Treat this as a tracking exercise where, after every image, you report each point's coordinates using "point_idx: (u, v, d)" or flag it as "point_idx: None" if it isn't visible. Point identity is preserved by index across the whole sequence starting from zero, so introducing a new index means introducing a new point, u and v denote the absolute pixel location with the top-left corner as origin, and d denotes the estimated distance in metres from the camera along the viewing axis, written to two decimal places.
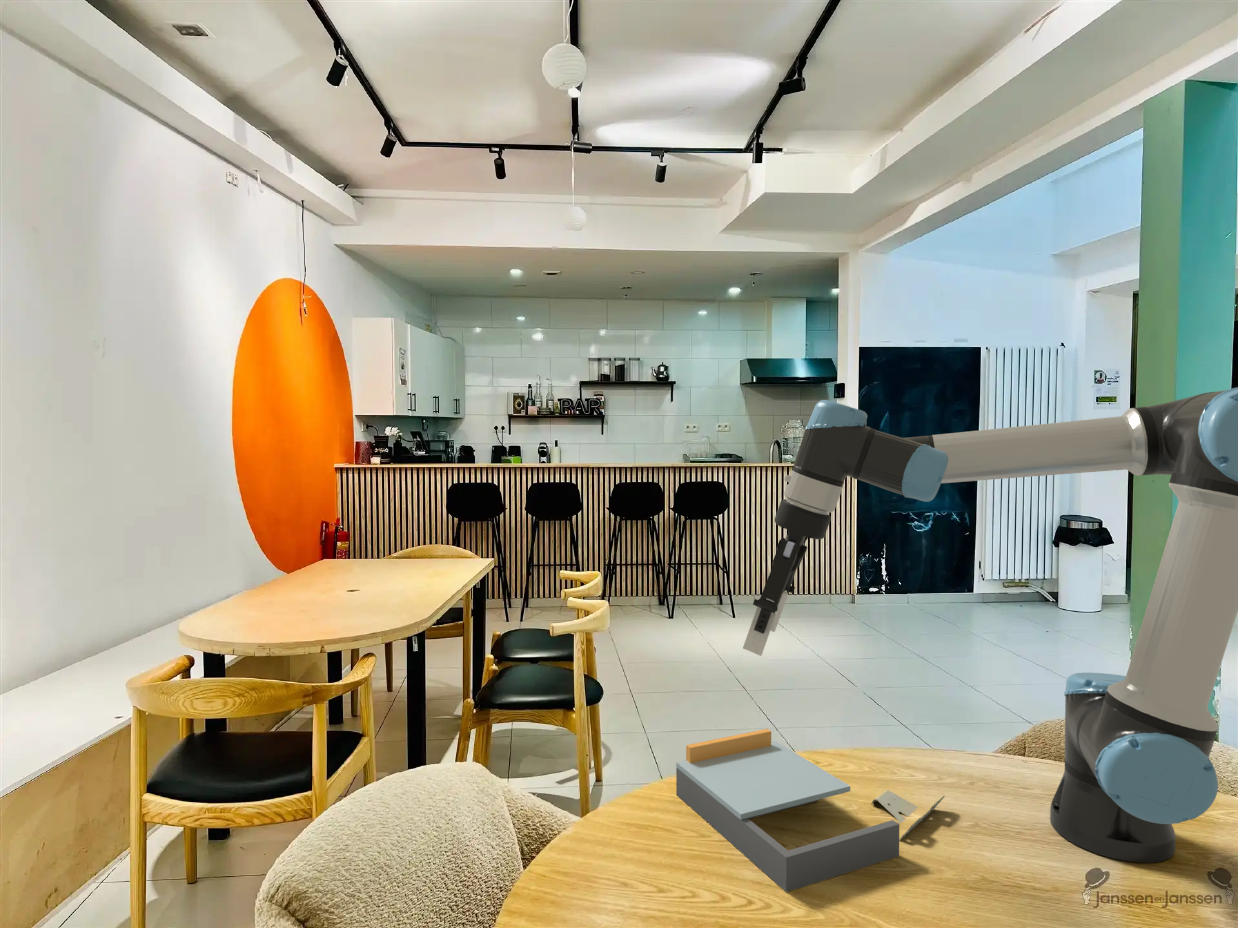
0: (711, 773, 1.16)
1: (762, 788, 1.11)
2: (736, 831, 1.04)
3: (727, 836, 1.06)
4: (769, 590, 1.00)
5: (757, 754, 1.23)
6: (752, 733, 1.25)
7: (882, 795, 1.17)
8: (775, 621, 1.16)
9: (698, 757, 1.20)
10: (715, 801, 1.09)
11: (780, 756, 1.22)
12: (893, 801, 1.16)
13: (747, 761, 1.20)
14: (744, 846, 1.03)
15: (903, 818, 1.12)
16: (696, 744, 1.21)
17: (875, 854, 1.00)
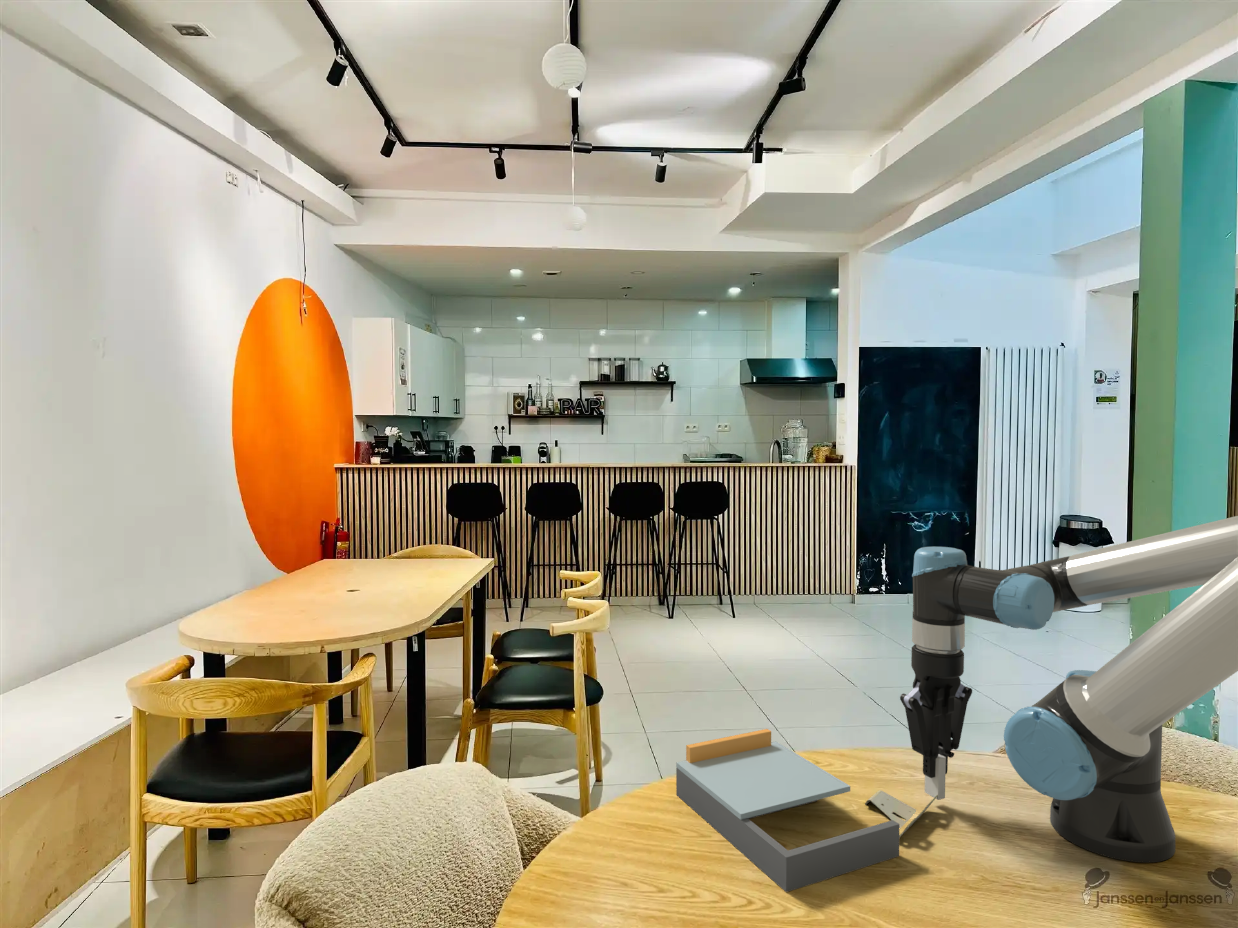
0: (711, 773, 1.16)
1: (762, 788, 1.11)
2: (736, 831, 1.04)
3: (727, 836, 1.06)
4: (914, 739, 1.15)
5: (757, 754, 1.23)
6: (752, 733, 1.25)
7: (875, 795, 1.16)
8: None
9: (698, 757, 1.20)
10: (715, 801, 1.09)
11: (780, 756, 1.22)
12: (886, 801, 1.16)
13: (747, 761, 1.20)
14: (744, 846, 1.03)
15: (897, 818, 1.12)
16: (696, 744, 1.21)
17: (875, 854, 1.00)
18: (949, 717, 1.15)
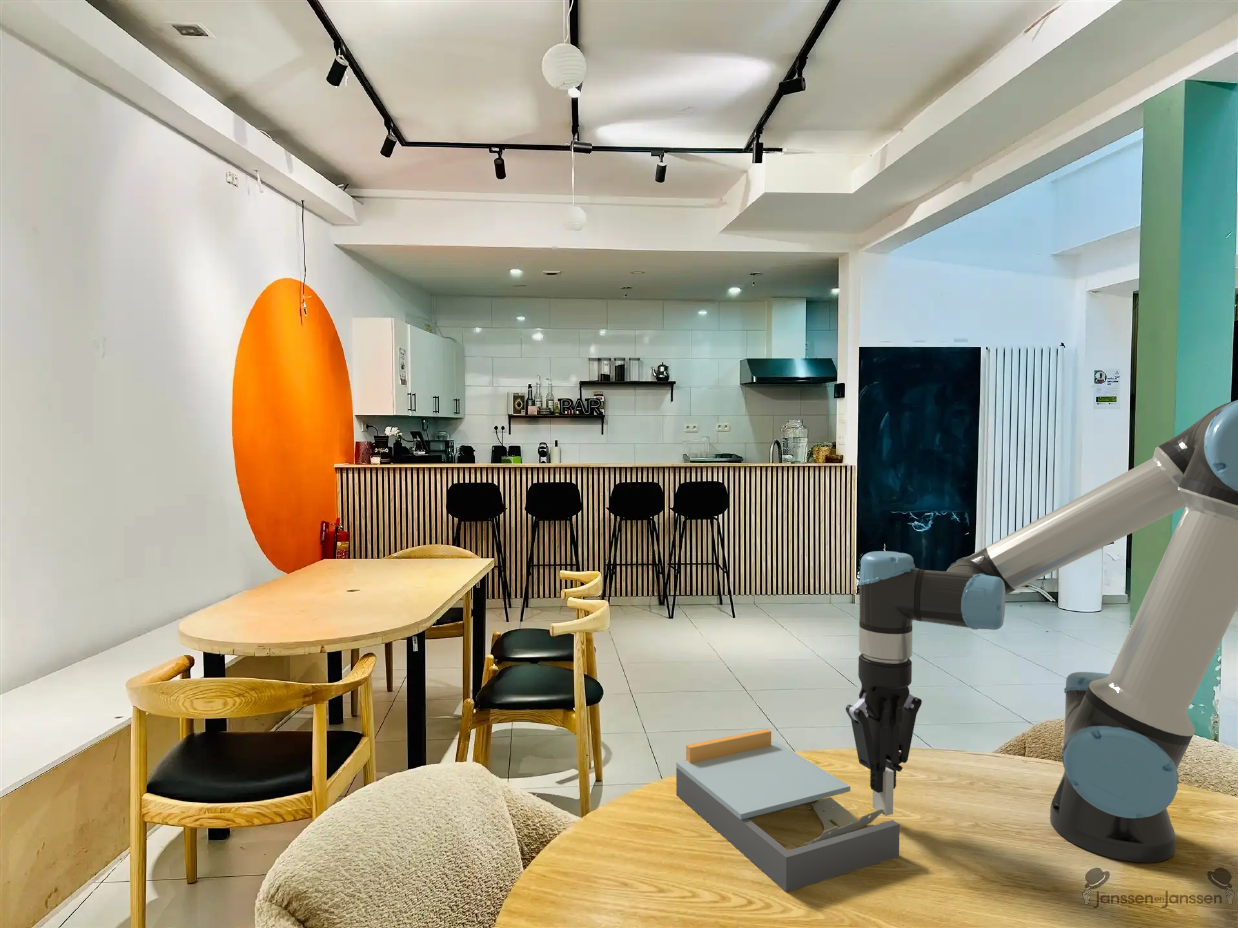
0: (711, 773, 1.16)
1: (762, 788, 1.11)
2: (736, 831, 1.04)
3: (727, 836, 1.06)
4: (860, 752, 1.10)
5: (757, 754, 1.23)
6: (752, 733, 1.25)
7: (821, 801, 1.15)
8: None
9: (698, 757, 1.20)
10: (715, 801, 1.09)
11: (780, 756, 1.22)
12: (830, 809, 1.13)
13: (747, 761, 1.20)
14: (744, 846, 1.03)
15: (831, 826, 1.10)
16: (696, 744, 1.21)
17: (875, 854, 1.00)
18: (897, 729, 1.11)
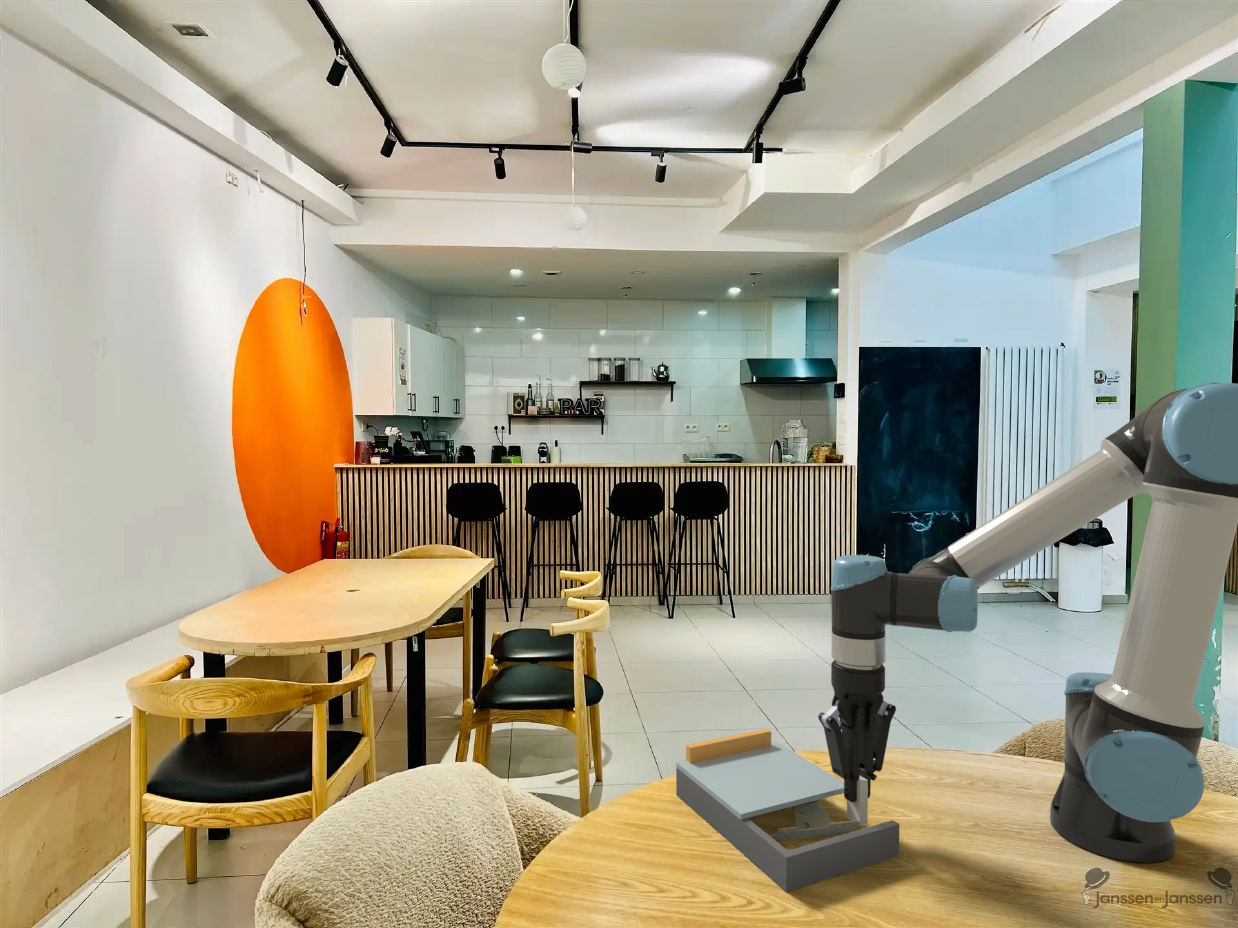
0: (711, 773, 1.16)
1: (762, 788, 1.11)
2: (736, 831, 1.04)
3: (727, 836, 1.06)
4: (833, 761, 1.07)
5: (757, 754, 1.23)
6: (752, 733, 1.25)
7: (805, 804, 1.14)
8: None
9: (698, 757, 1.20)
10: (715, 801, 1.09)
11: (780, 756, 1.22)
12: (812, 812, 1.12)
13: (747, 761, 1.20)
14: (744, 846, 1.03)
15: (803, 828, 1.09)
16: (696, 744, 1.21)
17: (875, 854, 1.00)
18: (871, 737, 1.08)
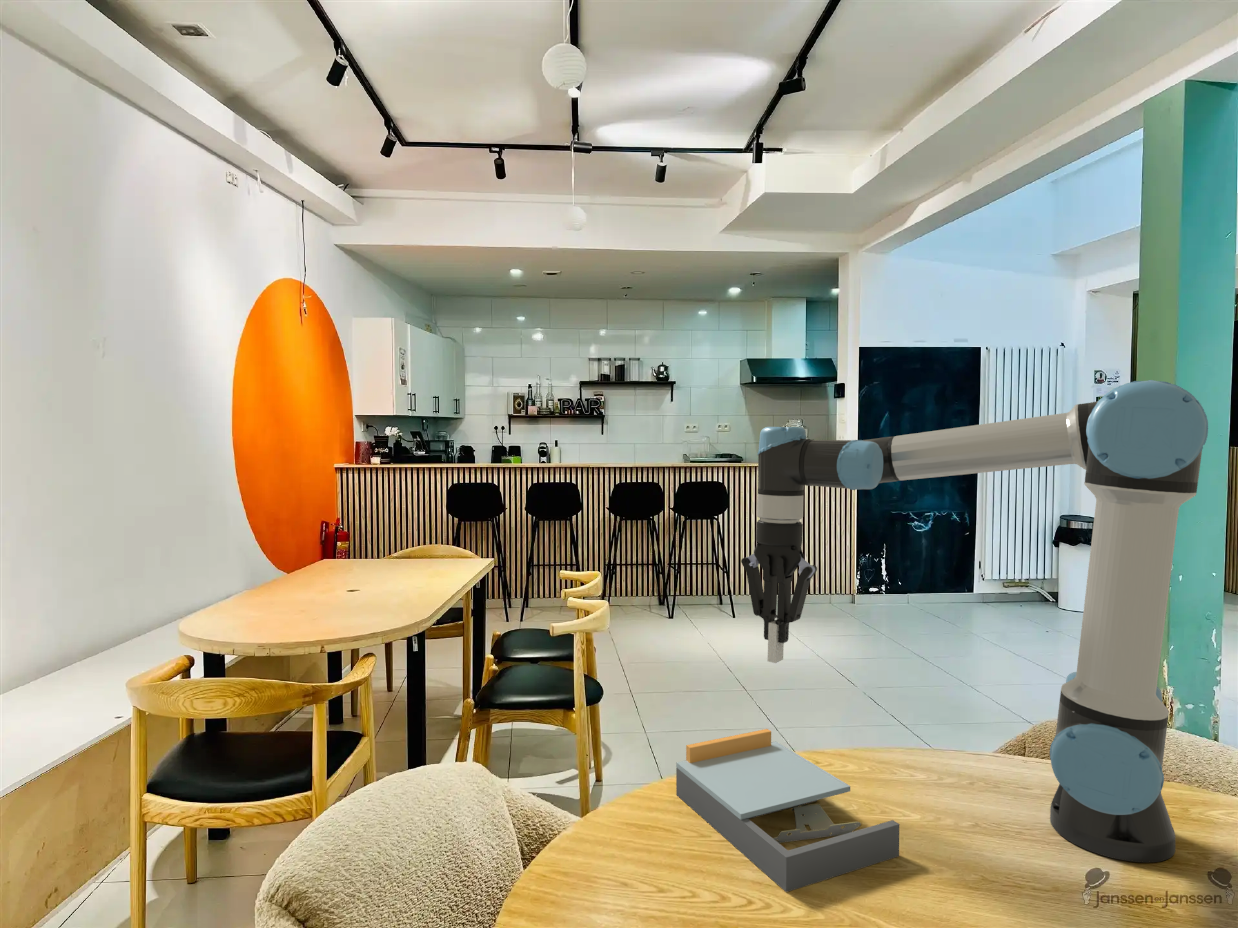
0: (711, 773, 1.16)
1: (762, 788, 1.11)
2: (736, 831, 1.04)
3: (727, 836, 1.06)
4: None
5: (757, 754, 1.23)
6: (752, 733, 1.25)
7: (805, 806, 1.14)
8: None
9: (698, 757, 1.20)
10: (715, 801, 1.09)
11: (780, 756, 1.22)
12: (812, 814, 1.12)
13: (747, 761, 1.20)
14: (744, 846, 1.03)
15: (804, 830, 1.09)
16: (696, 744, 1.21)
17: (875, 854, 1.00)
18: (782, 588, 1.21)
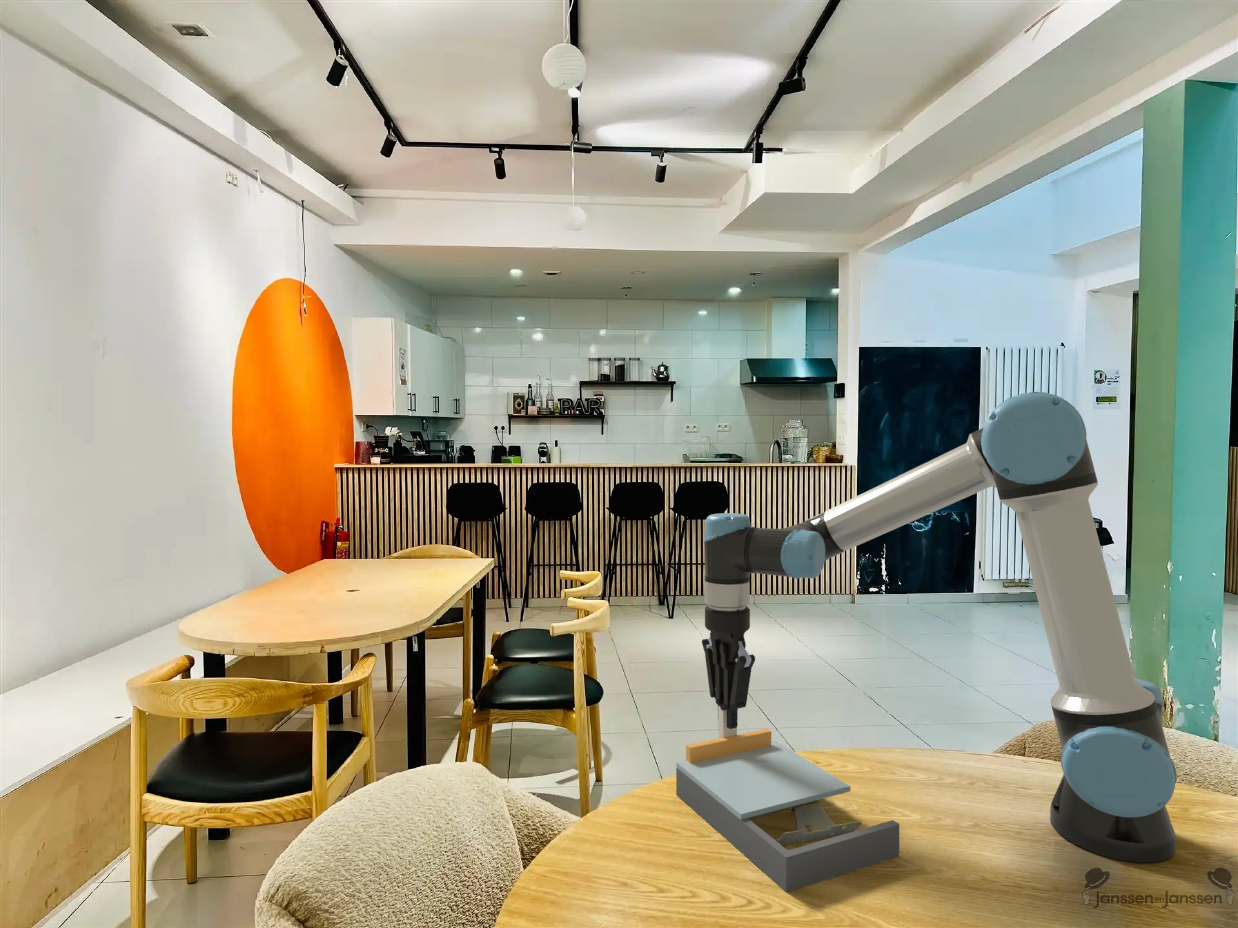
0: (711, 773, 1.16)
1: (762, 788, 1.11)
2: (736, 831, 1.04)
3: (727, 836, 1.06)
4: None
5: (757, 754, 1.23)
6: (752, 733, 1.25)
7: (805, 807, 1.14)
8: None
9: (698, 757, 1.20)
10: (715, 801, 1.09)
11: (780, 756, 1.22)
12: (812, 815, 1.12)
13: (747, 761, 1.20)
14: (744, 846, 1.03)
15: (805, 831, 1.09)
16: (696, 744, 1.21)
17: (875, 854, 1.00)
18: (726, 674, 1.23)
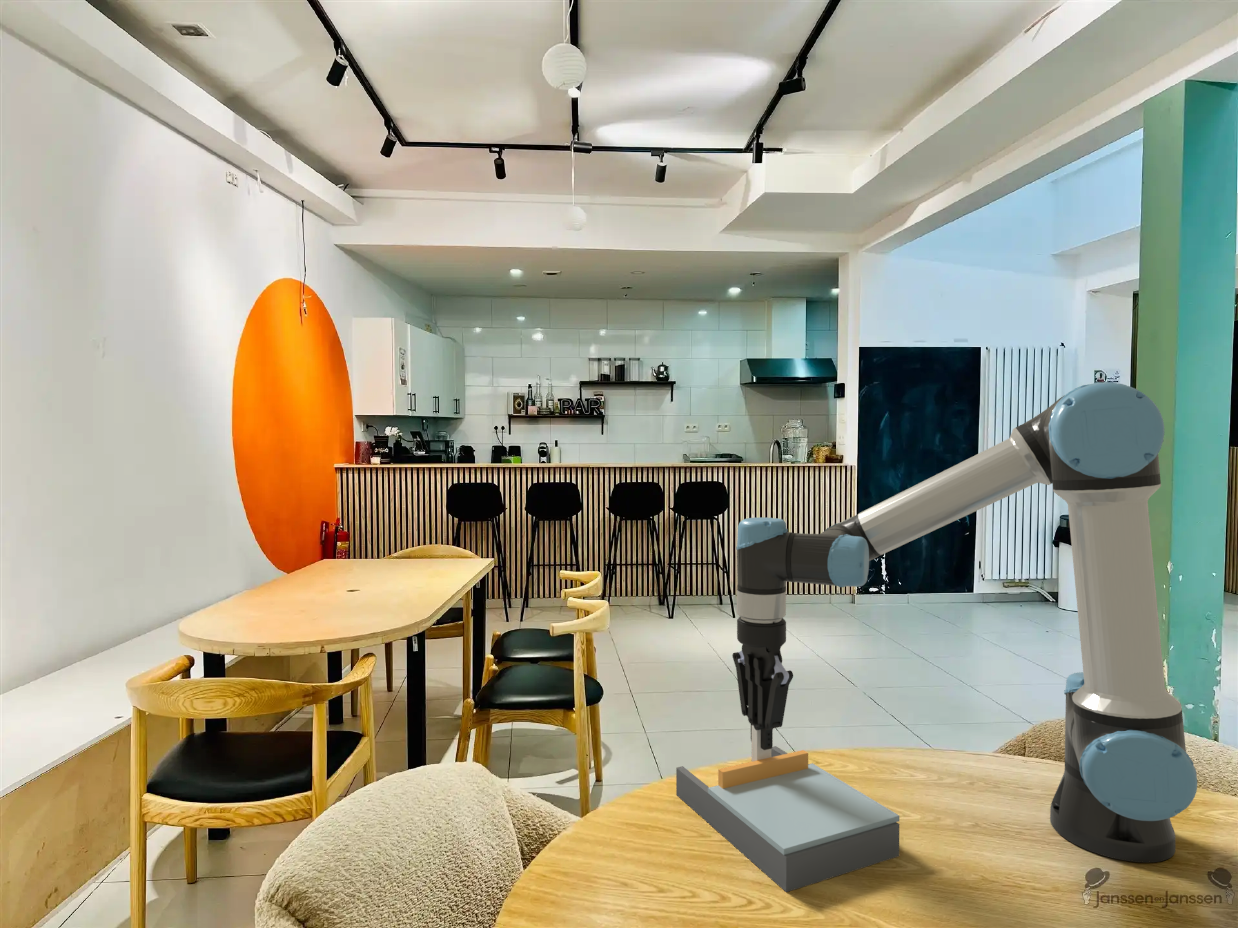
0: (747, 800, 1.07)
1: (804, 818, 1.02)
2: (736, 831, 1.04)
3: (727, 836, 1.06)
4: None
5: (794, 778, 1.14)
6: (788, 755, 1.17)
7: None
8: None
9: (731, 782, 1.11)
10: (715, 801, 1.09)
11: (819, 781, 1.13)
12: None
13: (784, 786, 1.11)
14: (744, 846, 1.03)
15: None
16: (728, 768, 1.12)
17: (875, 854, 1.00)
18: (760, 691, 1.14)
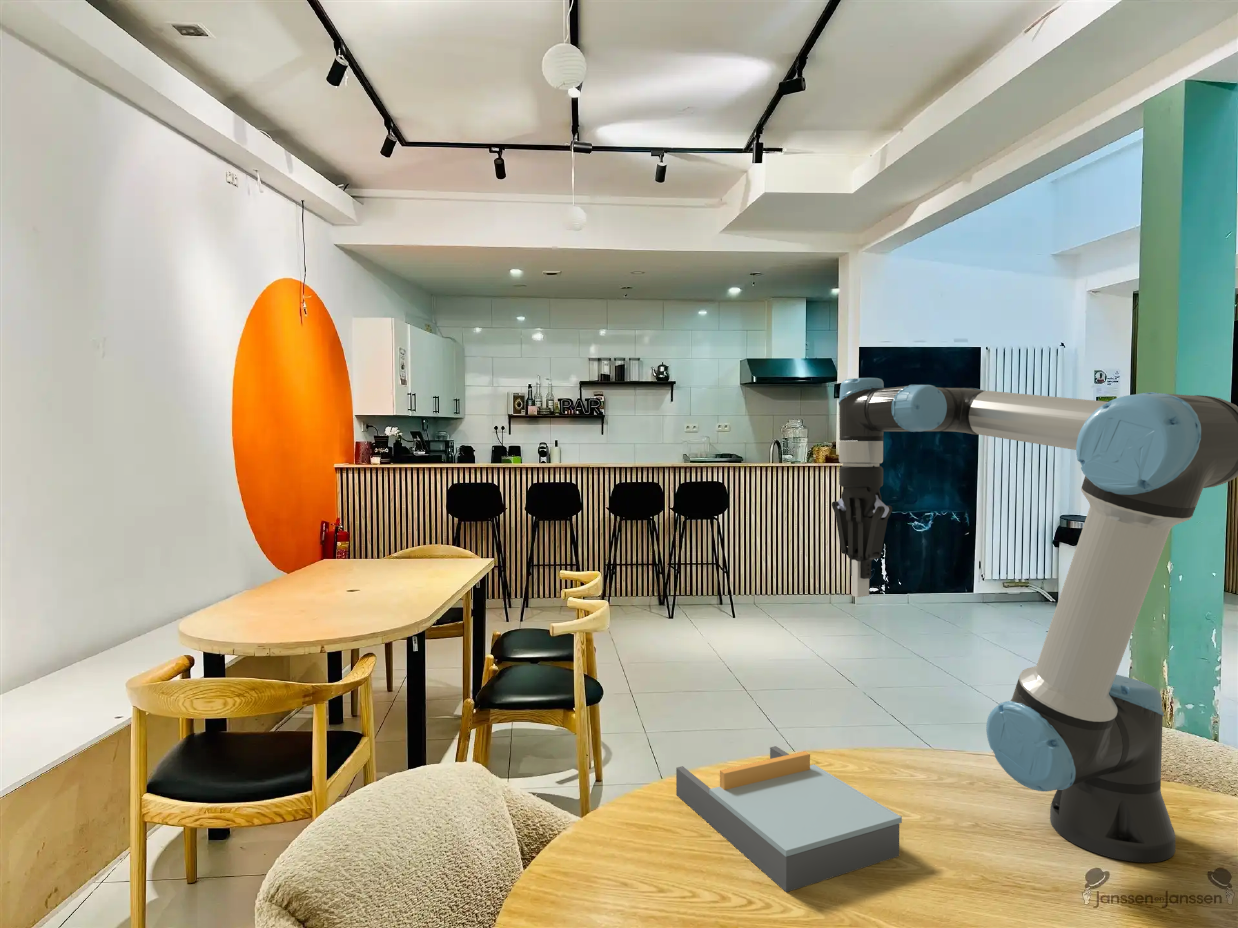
0: (748, 802, 1.07)
1: (806, 819, 1.02)
2: (736, 831, 1.04)
3: (727, 836, 1.06)
4: None
5: (796, 779, 1.14)
6: (790, 756, 1.16)
7: None
8: None
9: (733, 783, 1.11)
10: (715, 801, 1.09)
11: (821, 782, 1.13)
12: None
13: (786, 787, 1.11)
14: (744, 846, 1.03)
15: None
16: (730, 769, 1.12)
17: (875, 854, 1.00)
18: (861, 527, 1.31)
